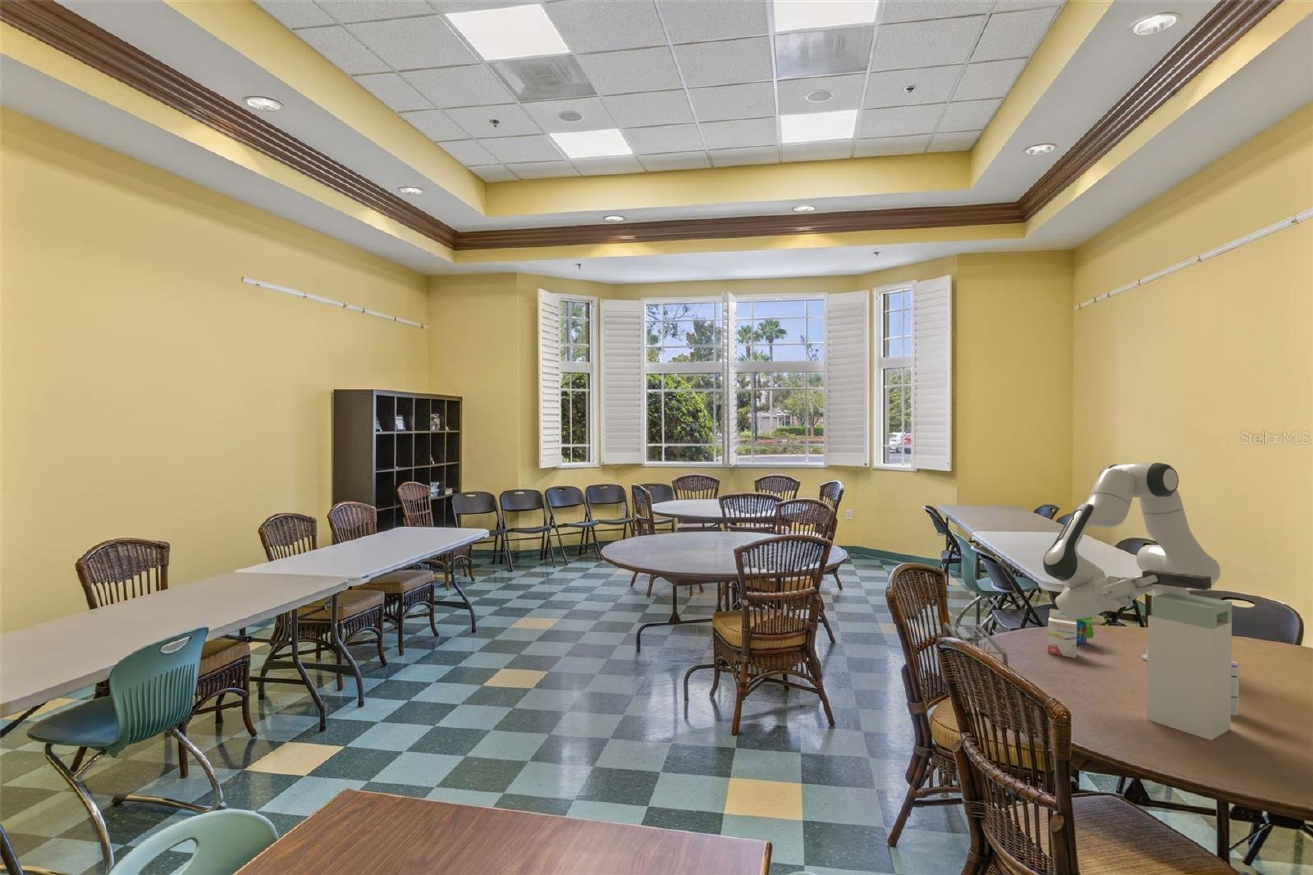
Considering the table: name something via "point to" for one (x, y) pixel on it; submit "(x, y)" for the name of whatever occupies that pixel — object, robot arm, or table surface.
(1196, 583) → the domino bar
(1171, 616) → the slot stand
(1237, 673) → the syrup box
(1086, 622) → the snack cup
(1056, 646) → the ink cartridge box
